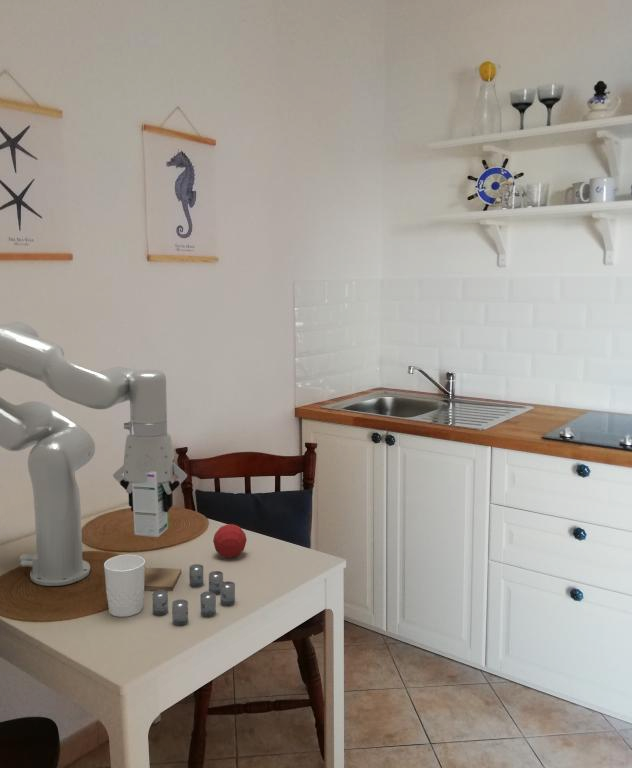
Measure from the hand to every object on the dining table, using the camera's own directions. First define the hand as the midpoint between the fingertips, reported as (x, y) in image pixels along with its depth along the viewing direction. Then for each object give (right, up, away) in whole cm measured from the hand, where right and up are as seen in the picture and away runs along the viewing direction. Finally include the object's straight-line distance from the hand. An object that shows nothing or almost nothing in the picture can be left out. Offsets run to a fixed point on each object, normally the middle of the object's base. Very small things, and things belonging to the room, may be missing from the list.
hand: (151, 508), depth 153 cm
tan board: (0, -16, +3) cm, 17 cm away
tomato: (+15, -14, +17) cm, 27 cm away
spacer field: (+11, -18, -7) cm, 22 cm away
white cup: (-3, -19, -10) cm, 21 cm away
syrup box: (0, -5, +1) cm, 5 cm away
